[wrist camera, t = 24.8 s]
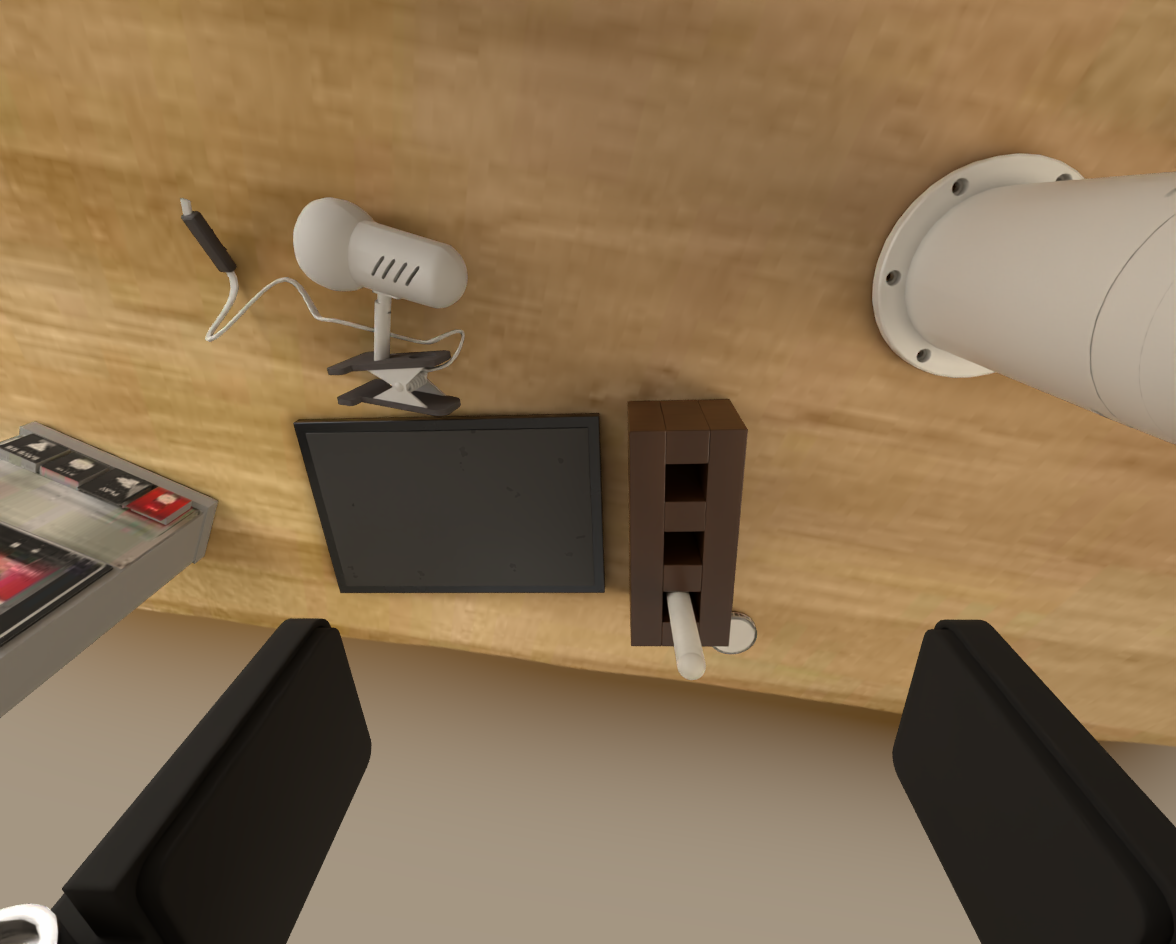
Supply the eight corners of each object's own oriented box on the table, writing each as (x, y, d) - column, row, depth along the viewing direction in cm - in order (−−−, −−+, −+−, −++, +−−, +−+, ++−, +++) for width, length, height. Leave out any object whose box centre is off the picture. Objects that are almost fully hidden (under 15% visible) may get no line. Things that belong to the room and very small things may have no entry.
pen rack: (729, 398, 38) (748, 429, 33) (715, 594, 45) (729, 646, 39) (627, 401, 38) (629, 431, 33) (629, 594, 45) (631, 646, 40)
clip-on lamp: (252, 338, 41) (471, 412, 38) (173, 361, 35) (421, 449, 33) (233, 160, 35) (492, 233, 32) (135, 155, 30) (435, 242, 27)
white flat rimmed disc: (753, 649, 47) (755, 654, 46) (705, 649, 47) (707, 654, 47) (757, 612, 45) (759, 617, 45) (708, 611, 45) (709, 616, 45)
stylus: (681, 554, 44) (708, 661, 30) (681, 572, 44) (707, 686, 31) (661, 554, 44) (678, 661, 30) (661, 572, 44) (678, 686, 31)
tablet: (599, 412, 39) (599, 417, 38) (605, 586, 45) (604, 593, 44) (298, 419, 40) (291, 423, 39) (344, 587, 46) (339, 594, 46)
